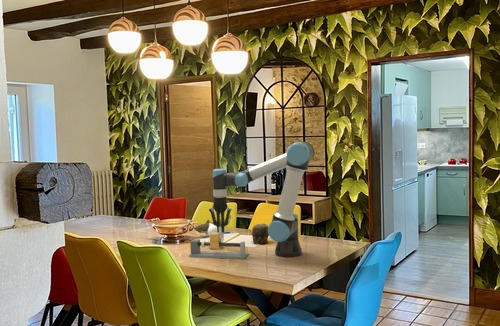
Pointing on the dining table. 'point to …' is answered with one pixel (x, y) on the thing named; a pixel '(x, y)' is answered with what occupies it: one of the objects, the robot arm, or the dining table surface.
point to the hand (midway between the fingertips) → (221, 238)
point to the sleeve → (214, 241)
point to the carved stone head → (260, 234)
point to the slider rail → (217, 254)
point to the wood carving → (206, 227)
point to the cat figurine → (213, 231)
